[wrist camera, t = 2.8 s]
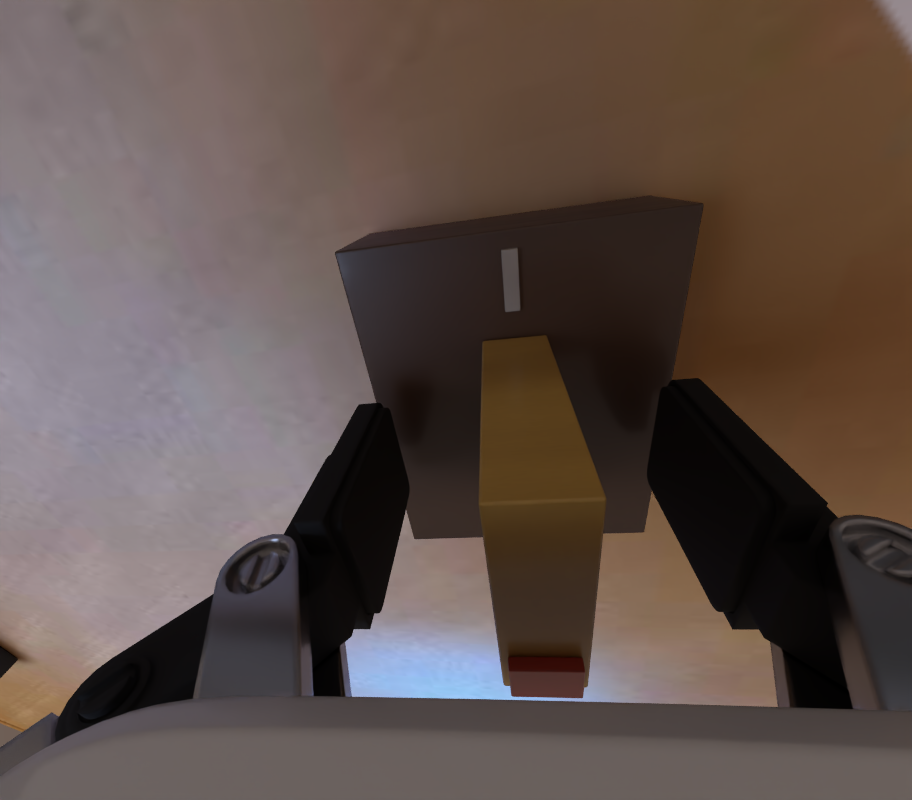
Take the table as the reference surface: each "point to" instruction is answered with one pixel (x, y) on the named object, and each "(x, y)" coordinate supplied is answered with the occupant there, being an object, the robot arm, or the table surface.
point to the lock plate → (524, 315)
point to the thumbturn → (538, 520)
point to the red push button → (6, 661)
